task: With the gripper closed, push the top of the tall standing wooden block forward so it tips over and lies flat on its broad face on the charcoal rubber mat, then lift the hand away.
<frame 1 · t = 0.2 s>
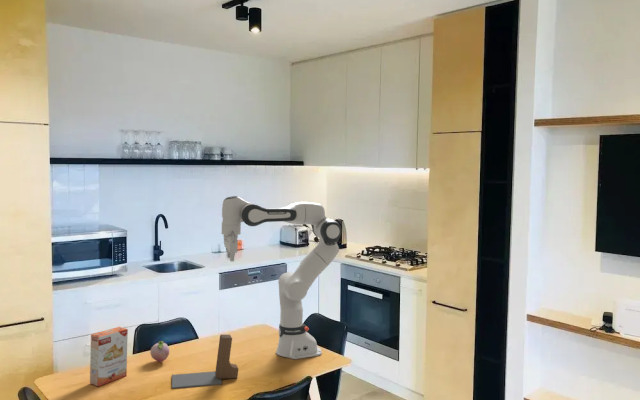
hand: (230, 259, 240), 47 cm above the table, tool pointing down, fingers open, 8 cm apart
charcoal rubber mat: (196, 380, 215), on the table
wooden block: (226, 377, 219), on the table
turnip: (159, 362, 234), on the table
cracker box: (108, 380, 213), on the table
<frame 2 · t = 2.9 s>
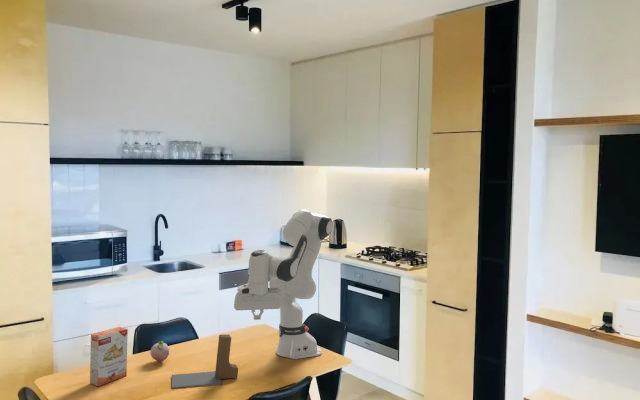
hand: (257, 319, 221), 25 cm above the table, tool pointing down, fingers closed
wooden block: (226, 377, 219), on the table, touching charcoal rubber mat
everything else where it was.
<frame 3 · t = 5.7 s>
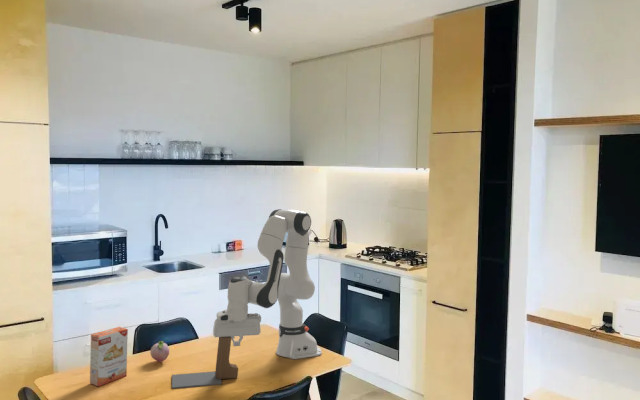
hand: (236, 345, 219), 14 cm above the table, tool pointing down, fingers closed
wooden block: (226, 377, 219), on the table, touching charcoal rubber mat, gripper
everything else where it was.
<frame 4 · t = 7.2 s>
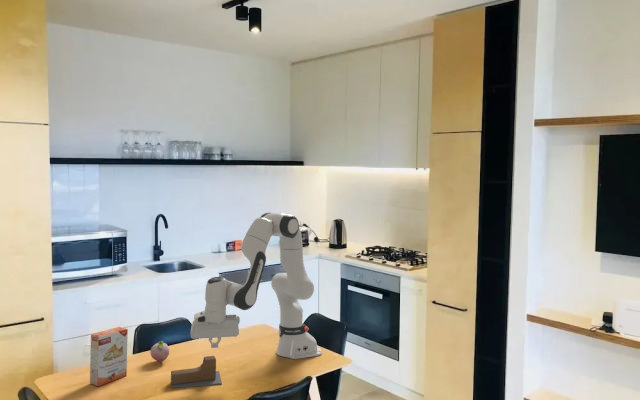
hand: (214, 347, 216), 14 cm above the table, tool pointing down, fingers closed
wooden block: (215, 367, 217), point 5 cm above the table, touching charcoal rubber mat
everything else where it was.
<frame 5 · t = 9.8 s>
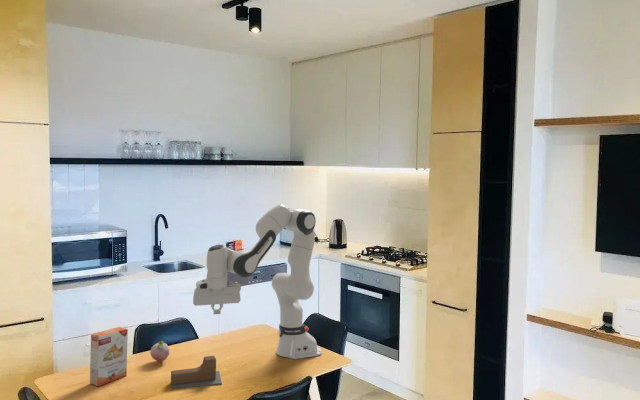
hand: (216, 313, 221), 27 cm above the table, tool pointing down, fingers closed
nothing on the table moved.
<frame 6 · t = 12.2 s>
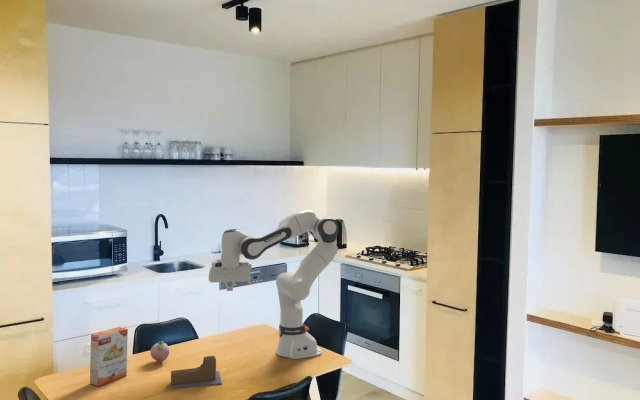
hand: (229, 290, 246), 31 cm above the table, tool pointing down, fingers closed
nothing on the table moved.
at the end: wooden block tilted 90°; wooden block inside the target area (6.4 cm from its centre), point 5.1 cm above the table; wooden block touching charcoal rubber mat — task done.
